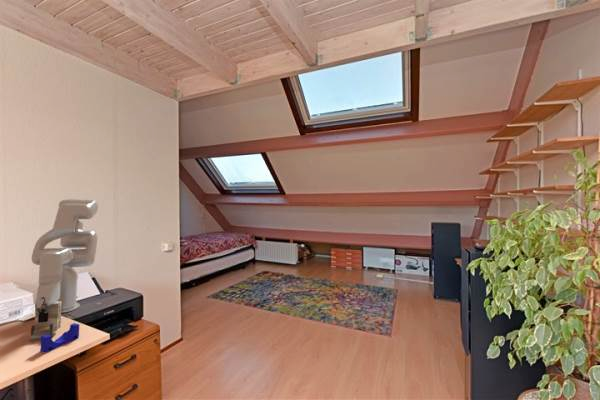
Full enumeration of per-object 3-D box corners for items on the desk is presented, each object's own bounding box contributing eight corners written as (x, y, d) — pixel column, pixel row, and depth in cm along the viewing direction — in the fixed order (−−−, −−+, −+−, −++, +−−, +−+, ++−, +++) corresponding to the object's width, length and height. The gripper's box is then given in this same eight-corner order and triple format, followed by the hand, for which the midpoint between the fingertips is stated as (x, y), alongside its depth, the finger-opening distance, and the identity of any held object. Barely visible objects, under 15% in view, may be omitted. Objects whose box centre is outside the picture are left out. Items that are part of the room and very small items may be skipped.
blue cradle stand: (70, 336, 116) (71, 322, 116) (78, 338, 115) (79, 324, 115) (37, 350, 104) (38, 335, 104) (45, 353, 103) (46, 337, 103)
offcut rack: (35, 336, 114) (36, 322, 114) (55, 334, 116) (56, 320, 116) (29, 341, 110) (30, 326, 110) (50, 339, 113) (51, 325, 113)
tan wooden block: (38, 329, 120) (39, 302, 120) (60, 327, 123) (61, 301, 123) (34, 332, 117) (35, 305, 118) (56, 330, 120) (58, 303, 120)
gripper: (50, 274, 127) (48, 311, 127) (27, 285, 111) (25, 327, 111) (69, 273, 130) (67, 309, 130) (50, 284, 113) (47, 325, 113)
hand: (48, 317), depth 120 cm, fingers open, 7 cm apart
